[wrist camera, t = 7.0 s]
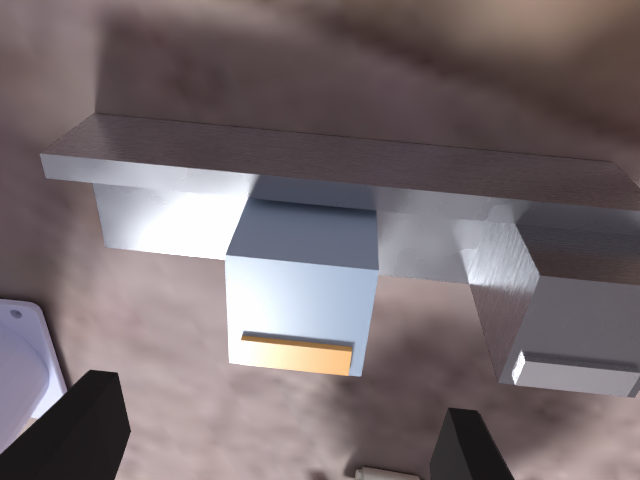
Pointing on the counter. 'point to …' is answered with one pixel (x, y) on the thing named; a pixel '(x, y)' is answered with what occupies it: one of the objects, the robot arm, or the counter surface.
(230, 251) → the block
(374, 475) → the pneumatic valve
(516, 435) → the counter surface
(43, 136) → the counter surface
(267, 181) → the rail
